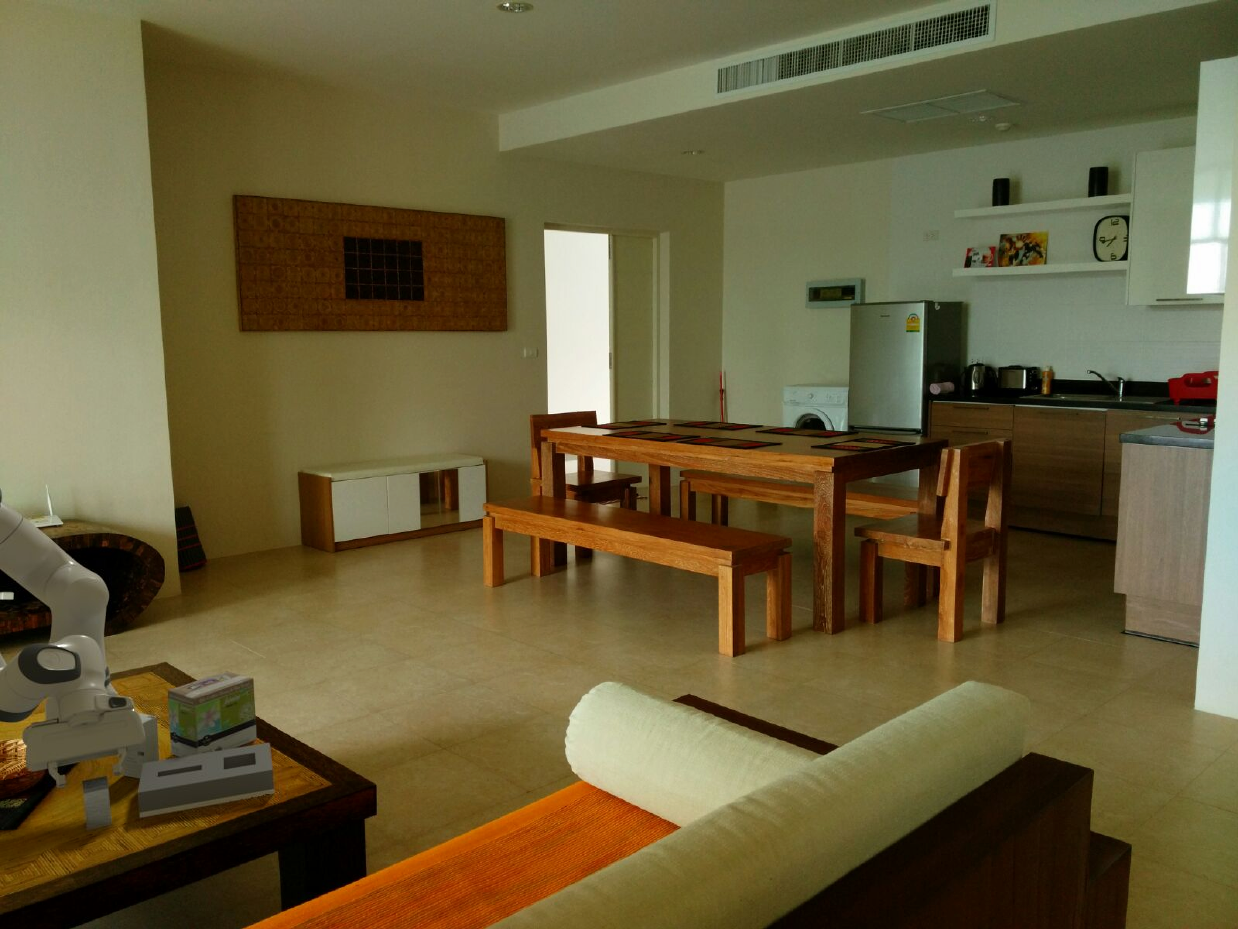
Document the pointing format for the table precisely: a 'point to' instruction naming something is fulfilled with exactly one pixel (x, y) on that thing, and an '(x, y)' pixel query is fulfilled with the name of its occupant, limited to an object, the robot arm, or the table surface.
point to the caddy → (205, 779)
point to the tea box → (212, 714)
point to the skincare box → (149, 751)
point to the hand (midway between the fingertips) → (90, 780)
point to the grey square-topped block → (97, 802)
